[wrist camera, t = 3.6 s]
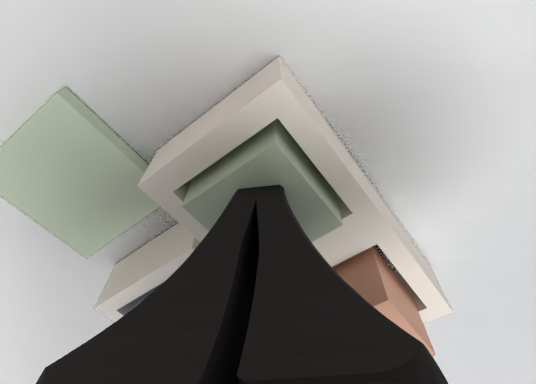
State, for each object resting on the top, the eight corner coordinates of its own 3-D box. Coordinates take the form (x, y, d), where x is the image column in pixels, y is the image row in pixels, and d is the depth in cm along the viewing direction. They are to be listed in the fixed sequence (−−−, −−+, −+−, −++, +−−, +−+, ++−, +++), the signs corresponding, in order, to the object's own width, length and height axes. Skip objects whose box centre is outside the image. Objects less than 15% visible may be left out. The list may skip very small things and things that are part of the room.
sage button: (256, 224, 15) (254, 273, 12) (196, 163, 13) (182, 206, 11) (331, 179, 13) (342, 225, 11) (274, 107, 12) (275, 142, 10)
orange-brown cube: (337, 327, 16) (347, 387, 14) (291, 281, 14) (294, 341, 12) (411, 294, 15) (435, 354, 13) (369, 241, 13) (388, 299, 11)
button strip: (326, 315, 18) (332, 360, 16) (157, 150, 13) (137, 186, 11) (431, 267, 16) (453, 311, 14) (279, 55, 12) (280, 78, 10)
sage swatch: (92, 248, 16) (86, 258, 16) (-18, 167, 14) (-29, 175, 13) (175, 190, 14) (171, 198, 14) (65, 86, 12) (56, 92, 12)
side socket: (196, 325, 19) (187, 370, 17) (115, 264, 16) (93, 308, 14) (280, 281, 17) (282, 326, 15) (202, 206, 15) (191, 247, 13)
